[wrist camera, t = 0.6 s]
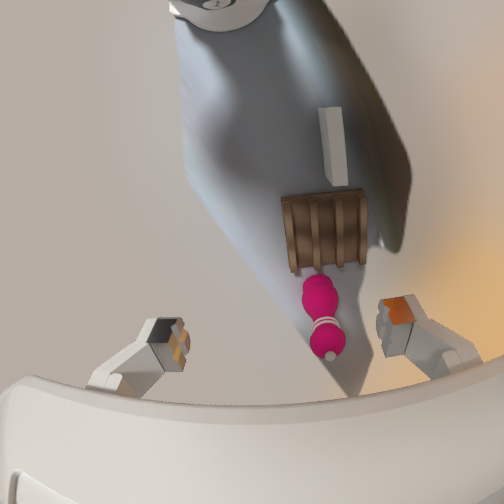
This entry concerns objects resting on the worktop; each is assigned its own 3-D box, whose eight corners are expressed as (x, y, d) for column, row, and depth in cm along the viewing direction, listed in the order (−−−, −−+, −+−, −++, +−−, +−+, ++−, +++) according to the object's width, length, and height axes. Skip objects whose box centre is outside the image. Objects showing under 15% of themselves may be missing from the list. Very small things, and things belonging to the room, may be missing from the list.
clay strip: (317, 107, 41) (324, 107, 35) (331, 106, 41) (341, 106, 35) (325, 175, 47) (333, 186, 41) (338, 174, 47) (348, 185, 41)
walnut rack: (280, 197, 49) (281, 203, 46) (361, 189, 47) (368, 195, 44) (289, 264, 56) (290, 275, 53) (361, 256, 54) (366, 266, 51)
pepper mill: (303, 302, 60) (310, 377, 43) (297, 275, 57) (305, 350, 40) (336, 296, 59) (353, 369, 42) (332, 268, 56) (352, 341, 38)
